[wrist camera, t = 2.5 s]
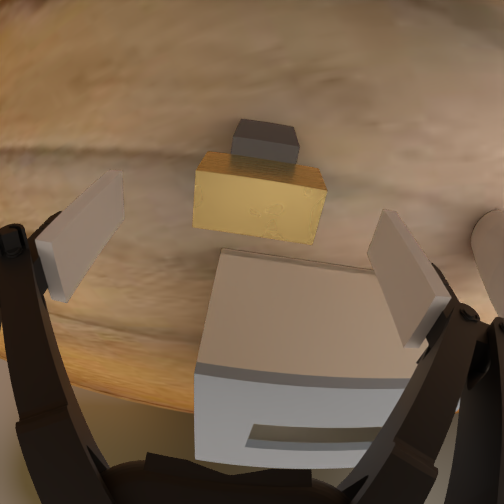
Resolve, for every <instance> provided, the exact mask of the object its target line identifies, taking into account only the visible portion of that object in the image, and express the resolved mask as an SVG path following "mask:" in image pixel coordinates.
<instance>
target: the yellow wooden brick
mask: <svg viewBox="0 0 504 504" xmlns="http://www.w3.org/2000/svg"><path fill="white" fill-rule="evenodd" d="M326 194H327V189H326V186H325V183H324V181H323V178H322V176H321V173H320V171H319V169H318V168H313V167H308V166H302V165H297V164H291V163H286V162H280V161H274V160H267V159H261V158H254V157H248V156H241V155H233V154H226V153H218V152H210V151H208V152H207V153H206V155H205V156H204V158H203V160H202V161H201V163H200V164H199V166H198V168H197V169H196V175H195V190H194V205H193V223H192V227H194V228H201V229H208V230H215V231H222V232H229V233H236V234H242V235H249V236H256V237H263V238H269V239H276V240H282V241H289V242H295V243H302V244H308V245H312V244H313V241H314V237H315V234H316V230H317V227H318V223H319V220H320V216H321V212H322V209H323V205H324V201H325V198H326Z"/></svg>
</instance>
